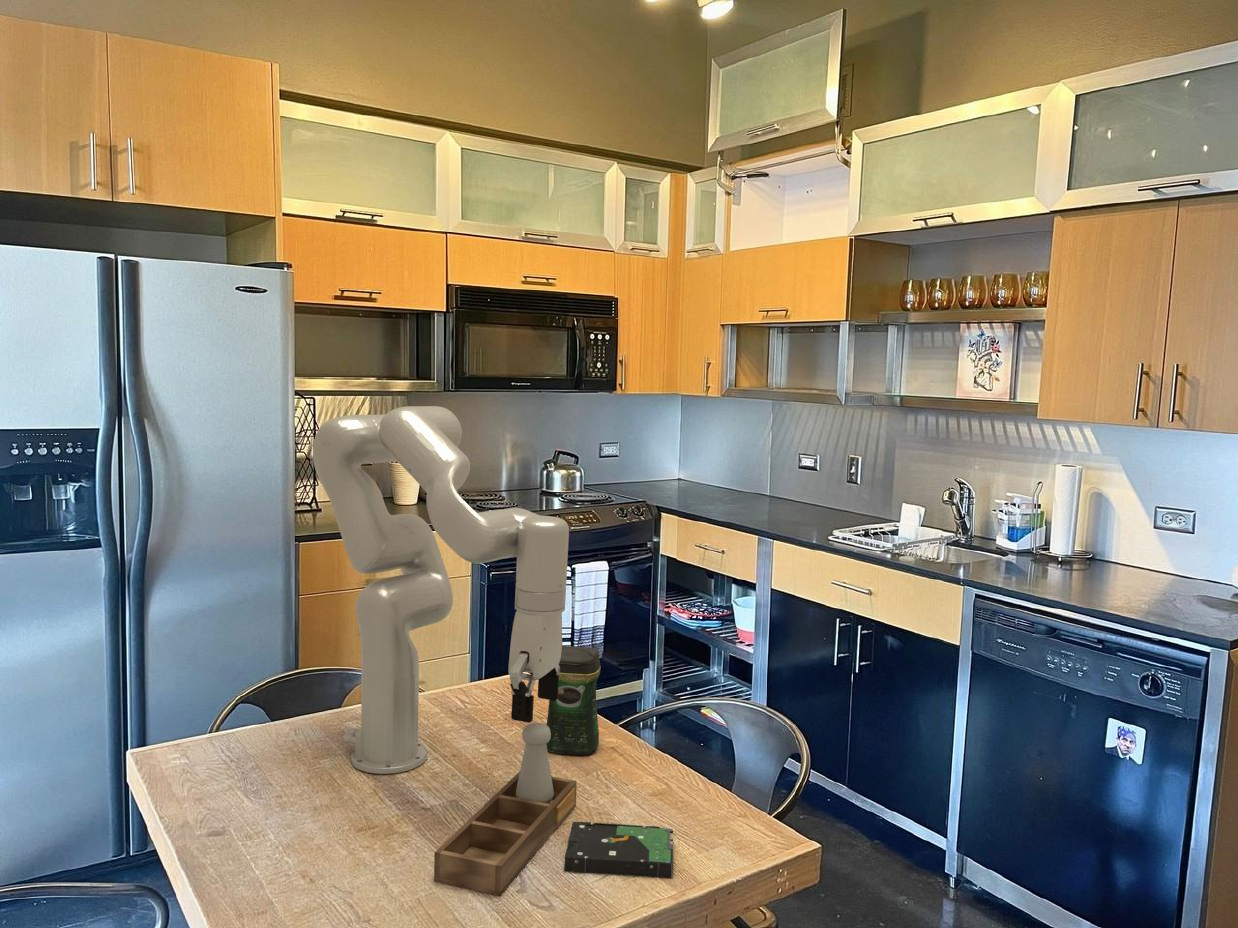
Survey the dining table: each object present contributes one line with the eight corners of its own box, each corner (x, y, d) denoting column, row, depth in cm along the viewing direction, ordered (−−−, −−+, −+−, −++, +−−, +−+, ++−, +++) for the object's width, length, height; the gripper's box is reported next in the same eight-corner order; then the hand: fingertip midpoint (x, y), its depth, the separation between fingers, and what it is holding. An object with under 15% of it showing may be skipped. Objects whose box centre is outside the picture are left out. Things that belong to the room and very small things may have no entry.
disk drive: (563, 876, 125) (673, 881, 124) (564, 857, 125) (674, 861, 124) (571, 838, 135) (672, 843, 135) (571, 820, 135) (673, 824, 134)
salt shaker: (547, 819, 138) (549, 735, 137) (510, 814, 139) (512, 730, 138) (557, 802, 144) (560, 721, 142) (522, 797, 145) (524, 717, 144)
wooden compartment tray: (434, 881, 122) (434, 852, 121) (519, 794, 147) (520, 770, 147) (502, 896, 119) (503, 866, 118) (577, 805, 144) (578, 781, 144)
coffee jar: (601, 741, 170) (604, 643, 168) (593, 758, 162) (597, 655, 161) (550, 736, 172) (553, 639, 170) (540, 753, 164) (542, 651, 162)
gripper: (540, 583, 148) (535, 687, 150) (492, 609, 131) (487, 725, 133) (584, 589, 145) (578, 695, 147) (540, 616, 129) (535, 734, 131)
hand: (535, 709), depth 140 cm, fingers open, 9 cm apart
